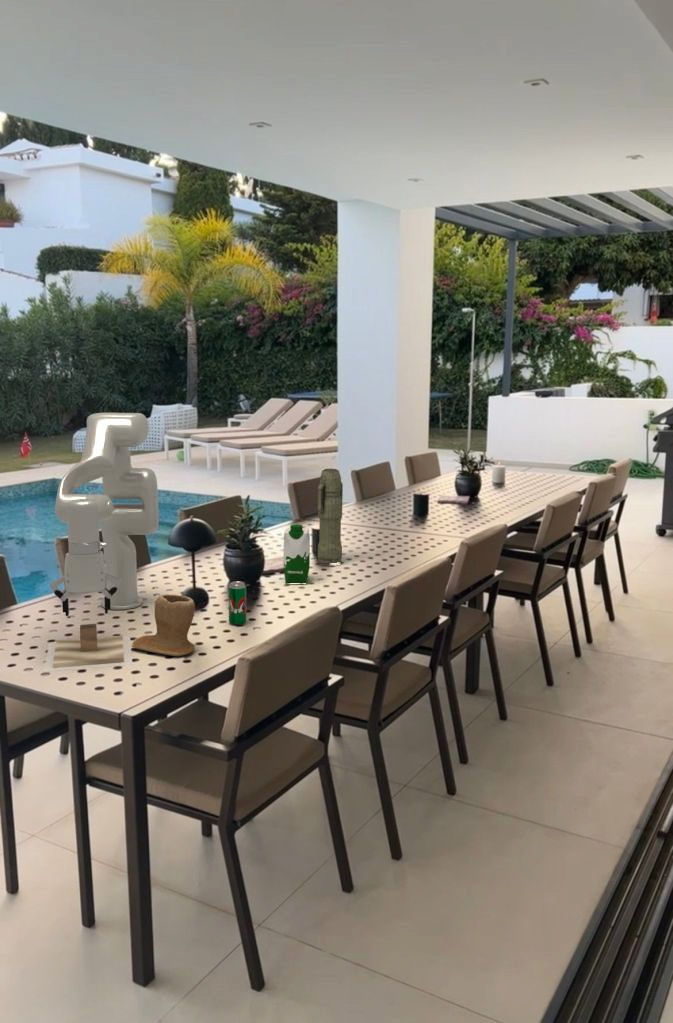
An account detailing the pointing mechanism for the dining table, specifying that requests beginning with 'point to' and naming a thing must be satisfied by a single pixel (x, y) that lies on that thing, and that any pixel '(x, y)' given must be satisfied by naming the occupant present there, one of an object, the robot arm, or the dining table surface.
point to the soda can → (237, 603)
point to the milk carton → (296, 554)
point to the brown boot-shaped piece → (170, 627)
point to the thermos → (330, 516)
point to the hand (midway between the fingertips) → (87, 613)
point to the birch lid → (88, 649)
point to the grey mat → (50, 665)
